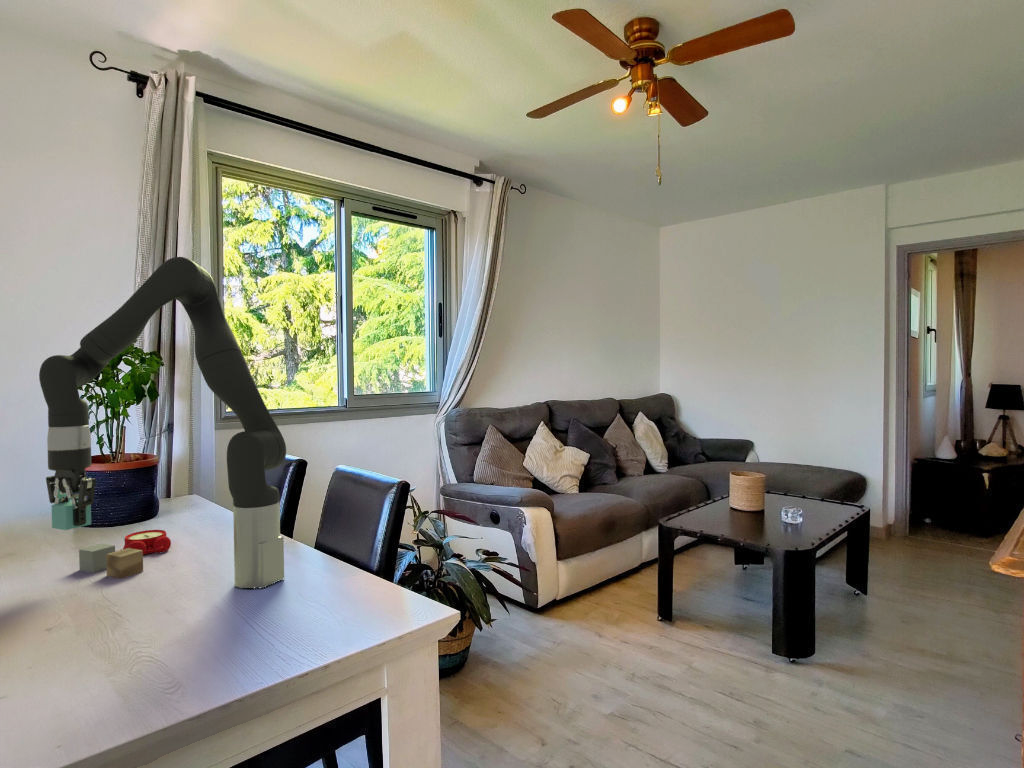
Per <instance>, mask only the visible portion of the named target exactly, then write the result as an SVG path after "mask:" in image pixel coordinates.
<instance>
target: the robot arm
mask: <svg viewBox="0 0 1024 768" xmlns="http://www.w3.org/2000/svg"><path fill="white" fill-rule="evenodd" d="M174 300H177V301H178V302H179V303H180V305H182V307H183V308H184V310H185V312H186V314H187V316H188V318H189V320H190V322H191V324H192V327H193V331H194V354H195V356H194V357H195V359H196V362H197V365H198V367H199V370H200V372H201V374H202V377H203V379H204V381H205V384H206V385H207V387H208V388H209V390H211V391H212V392H213V394H214V395H215V396H217V398H218V399H219V400H221V401H222V402H223V403H224V404H225V405H226V406H227V407H228V408H229V409H230V410H231V411H232V412H233V413H234V414H235V415H236V417H237V418H238V420H239V421H240V424H241V427H243V430H244V431H240V432H237V433H236V434H234V435H233V436H232V437H231V438H230V439H229V441H228V444H227V448H226V466H227V467H226V468H227V470H226V471H227V480H228V481H227V482H228V490H229V493H230V495H231V498H232V504H233V506H232V507H233V514H232V515H233V554H234V555H233V561H234V565H233V566H234V567H233V569H234V586H235V587H236V588H238V587H239V589H243V588H253V589H257V588H256V587H261V588H263V587H265V586H268V585H270V584H272V583H274V582H276V581H278V580H281V579H283V578H284V579H285V550H284V549H285V547H284V546H285V545H284V542H285V540H284V536H281V521H280V520H281V519H280V518H281V516H280V515H281V512H280V490H279V488H278V487H276V486H271V485H269V484H268V483H267V480H266V472H265V471H267V470H268V471H269V470H272V469H275V468H278V467H280V466H281V465H282V464H283V463H284V461H285V459H286V456H287V445H286V441H285V439H284V437H283V434H282V433H281V431H280V429H279V427H278V425H277V423H276V422H275V420H274V418H273V416H272V415H271V413H270V411H269V410H268V407H267V406H266V404H265V402H264V400H263V398H262V396H261V393H260V391H259V388H258V386H257V384H256V382H255V381H254V380H255V379H254V378H253V376H252V374H251V371H250V368H249V365H248V363H247V361H246V358H245V356H244V354H243V352H242V349H241V347H240V346H239V344H238V342H237V339H236V337H235V334H234V332H233V330H232V328H231V326H230V324H229V322H228V321H227V318H226V316H225V313H224V310H223V307H222V304H221V301H220V296H219V293H218V290H217V287H216V283H215V281H214V279H213V277H212V276H211V274H210V273H209V272H208V271H207V270H206V269H205V268H203V267H202V266H201V265H199V264H197V262H195V261H193V260H191V259H190V258H189V257H188V258H187V257H183V256H173V257H172V258H169V259H167V260H165V261H164V262H162V264H160V266H158V267H157V268H156V270H154V271H153V272H152V274H151V275H149V277H148V278H147V279H146V280H145V281H144V282H143V283H142V284H141V285H140V286H139V288H138V289H137V290H136V291H135V292H134V293H132V295H130V297H129V298H128V299H127V300H126V301H125V302H124V303H123V304H122V305H121V306H120V307H119V308H118V309H117V310H115V312H113V313H112V314H111V315H110V316H108V317H107V318H106V319H105V320H104V321H102V322H101V323H100V324H98V325H97V326H95V327H94V328H93V329H91V330H90V331H89V332H88V333H86V334H85V335H84V336H83V337H82V338H81V339H80V341H79V346H80V347H79V348H78V349H77V350H76V351H74V352H73V353H72V354H71V355H63V354H61V355H60V354H59V355H57V354H55V355H51V356H49V357H48V358H46V359H45V360H44V361H43V362H42V363H41V365H40V368H39V374H38V376H39V384H40V388H41V390H42V393H43V398H44V400H45V403H46V406H47V408H48V409H47V423H48V428H47V438H46V439H47V445H46V447H47V469H48V470H49V471H54V472H55V473H54V475H51V476H46V478H45V482H46V488H47V493H48V499H49V503H50V504H60V503H65V502H70V501H71V502H72V506H73V525H74V526H80V525H84V524H85V523H86V507H87V506H88V505H91V506H92V505H93V504H94V499H95V491H96V484H97V480H96V478H95V477H92V478H89V477H87V472H86V468H89V467H91V466H92V436H91V434H92V433H91V429H90V412H89V404H88V402H87V401H86V400H85V399H82V398H81V397H80V393H79V392H80V391H79V388H81V387H83V386H86V385H87V384H89V383H90V382H92V381H93V380H94V379H95V378H97V376H98V375H99V374H100V373H101V372H102V371H103V370H104V369H105V367H107V365H108V364H109V363H110V361H112V360H113V359H114V358H116V357H117V356H118V355H120V354H121V353H122V352H124V351H125V350H126V349H127V348H129V347H130V346H131V345H133V343H134V342H136V341H137V340H138V338H139V337H140V336H141V335H142V332H143V331H144V330H145V327H146V326H147V324H148V322H149V321H150V319H151V318H152V317H153V315H155V314H156V312H158V310H160V309H161V308H162V307H163V306H165V305H166V304H169V303H170V302H171V301H174ZM87 496H88V497H87ZM77 500H78V502H77ZM284 579H283V580H284ZM281 581H282V580H281ZM274 584H275V583H274ZM272 585H273V584H272ZM270 586H271V585H270ZM254 587H255V588H254ZM268 587H269V586H268ZM261 588H260V589H261ZM265 588H266V587H265ZM263 589H264V588H263Z"/></svg>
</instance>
